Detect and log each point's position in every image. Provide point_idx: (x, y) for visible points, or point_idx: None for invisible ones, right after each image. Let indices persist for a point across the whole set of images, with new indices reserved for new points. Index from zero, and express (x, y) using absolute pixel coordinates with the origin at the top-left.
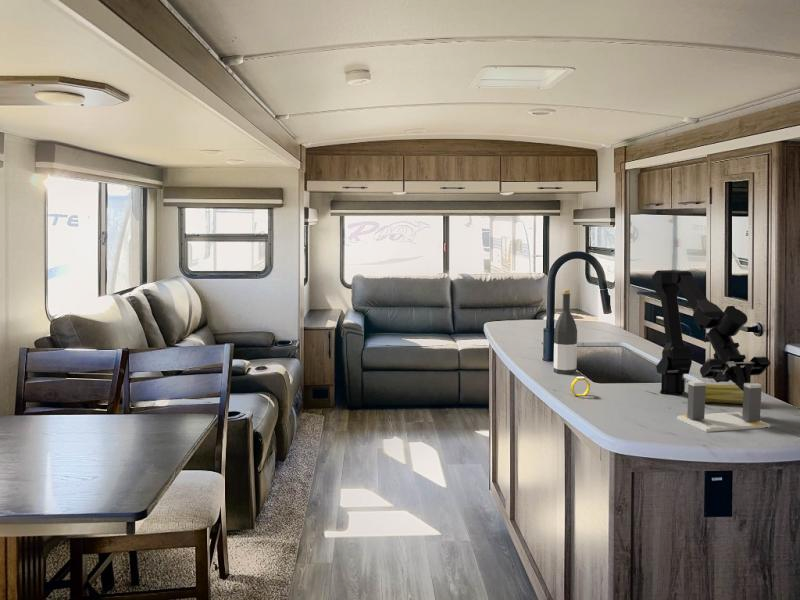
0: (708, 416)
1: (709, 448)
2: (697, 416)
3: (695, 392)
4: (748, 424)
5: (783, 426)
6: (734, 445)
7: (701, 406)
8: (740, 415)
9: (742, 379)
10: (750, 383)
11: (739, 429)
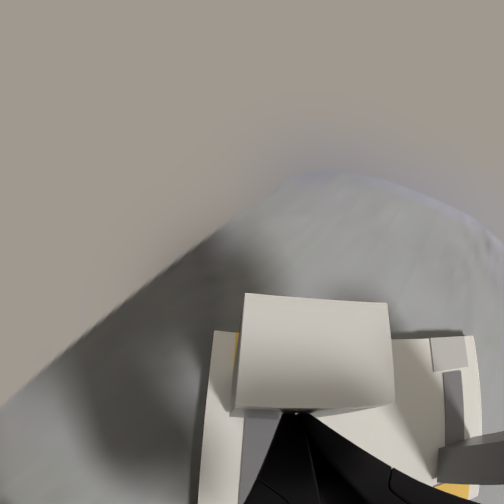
0: None
1: (482, 226)
2: (467, 440)
3: None
4: None
5: (147, 326)
6: (437, 221)
7: (485, 440)
8: (233, 495)
9: (387, 467)
10: (335, 375)
11: None
